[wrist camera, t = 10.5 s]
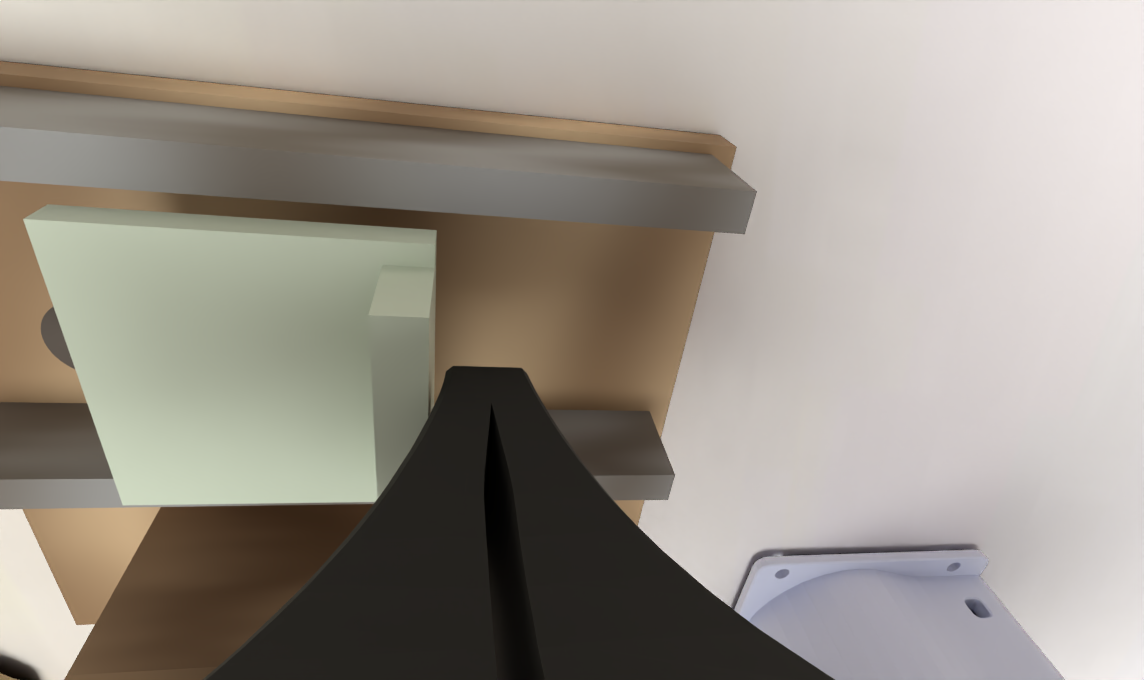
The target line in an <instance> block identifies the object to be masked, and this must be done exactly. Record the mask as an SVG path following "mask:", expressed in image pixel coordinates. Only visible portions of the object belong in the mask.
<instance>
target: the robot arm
mask: <svg viewBox="0 0 1144 680" xmlns="http://www.w3.org/2000/svg"><path fill="white" fill-rule="evenodd" d="M987 564H988V558H987V557H986V556H985V554H984V553H983V552H982V551H980V550H947V551H917V552H888V553H858V554H828V555H798V556H768V557H763V558H761V559H759V560H757V561H756V562H755V563H754V565H753V566H752V568H751V571H750V573H749V575H748V578H747V580H746V583H745V585H744V587H743V590H742V592H741V595H740V597H739V599H738V602H737V604H736V606H735V609H734V610H733V609H732V608H730V607H729V606H728V605H727V604H725V603H724V602H723V601H721V600H720V599H719V598H717V597H716V596H715V595H713V594H712V593H711V592H710V591H709V590H707V589H706V588H705V587H704V586H703V585H701V584H700V583H699V582H698V581H697V580H696V579H694V578H693V577H692V576H691V575H690V574H689V573H688V572H686V571H685V570H684V569H683V568H682V567H681V566H679V565H678V564H677V563H676V562H675V561H674V560H673V559H671V558H670V557H669V556H668V555H667V554H666V553H664V552H663V551H662V550H661V549H660V548H659V547H658V546H657V545H656V544H655V543H654V542H653V541H652V540H651V539H650V538H649V537H648V536H647V535H646V534H645V533H644V532H643V531H642V530H641V529H640V528H639V527H638V526H637V525H636V524H635V523H634V522H633V521H632V520H631V519H630V518H629V517H628V516H627V515H626V513H625V512H624V511H623V510H622V509H621V508H620V507H619V506H618V505H617V504H616V502H615V501H614V500H613V499H612V498H611V497H610V496H609V494H608V493H607V492H606V491H605V490H604V489H603V487H602V486H601V485H600V484H599V482H598V481H597V480H596V479H595V477H594V476H593V475H592V474H591V472H590V471H589V470H588V469H587V467H586V466H585V465H584V463H583V462H582V461H581V459H580V458H579V457H578V455H577V454H576V453H575V451H574V450H573V448H572V447H571V445H570V444H569V443H568V441H567V440H566V438H565V437H564V435H563V434H562V432H561V431H560V430H559V428H558V427H557V425H556V424H555V422H554V420H553V419H552V417H551V416H550V414H549V412H548V411H547V409H546V407H545V406H544V404H543V402H542V401H541V399H540V397H539V395H538V394H537V392H536V390H535V388H534V386H533V384H532V382H531V380H530V378H529V376H528V374H527V373H526V372H525V371H524V370H523V369H522V368H515V367H479V366H452V367H451V368H450V369H448V370H447V371H446V373H445V378H444V382H443V385H442V388H441V391H440V393H439V396H438V398H437V400H436V403H435V405H434V407H433V409H432V411H431V413H430V415H429V417H428V419H427V421H426V423H425V425H424V426H423V428H422V430H421V432H420V434H419V436H418V437H417V439H416V441H415V443H414V445H413V446H412V448H411V450H410V451H409V453H408V454H407V456H406V457H405V459H404V461H403V462H402V464H401V465H400V467H399V468H398V470H397V471H396V473H395V474H394V476H393V477H392V479H391V480H390V482H389V483H388V485H387V486H386V488H385V489H384V491H383V492H382V493H381V495H380V496H379V497H378V499H377V500H376V502H375V503H374V504H373V506H372V507H371V508H370V509H369V511H368V512H367V513H366V515H365V516H364V517H363V518H362V520H361V521H360V522H359V523H358V525H357V526H356V527H355V528H354V530H353V531H352V532H351V533H350V534H349V536H348V537H347V538H346V539H345V540H344V541H343V542H342V544H341V545H340V546H339V547H338V548H337V549H336V550H335V552H334V553H333V554H332V555H331V556H330V557H329V558H328V560H327V561H326V562H325V563H324V564H323V565H322V566H321V568H320V569H319V570H318V571H317V572H316V573H315V574H314V575H313V576H312V577H311V578H310V579H309V580H308V581H307V582H306V583H305V585H304V586H303V587H302V588H301V589H300V590H299V591H298V592H297V593H296V594H295V595H294V596H293V597H292V598H291V599H289V600H288V601H287V602H286V603H285V604H284V605H283V606H282V607H281V608H280V609H279V610H278V611H277V612H276V613H275V614H274V615H273V616H272V617H271V618H270V619H269V620H268V621H267V622H266V623H265V624H264V625H263V626H261V627H260V628H259V629H258V630H257V631H256V632H255V633H254V634H253V635H252V636H251V637H250V638H249V639H248V640H247V641H246V642H245V643H244V644H243V645H242V646H241V647H239V648H238V649H237V650H236V651H235V652H234V653H233V654H232V655H231V656H229V657H228V658H227V659H226V660H225V661H224V662H223V663H222V664H220V665H219V666H218V667H217V668H216V669H214V670H213V671H212V672H211V673H210V674H208V675H207V676H206V677H205V678H204V679H203V680H1065V679H1064V678H1063V676H1062V675H1061V674H1060V673H1059V672H1058V670H1057V669H1056V668H1055V667H1054V666H1053V664H1052V663H1051V662H1050V661H1049V659H1048V658H1047V657H1046V656H1045V655H1044V653H1043V652H1042V651H1041V650H1040V648H1039V647H1038V646H1037V645H1036V644H1035V642H1034V641H1033V640H1032V639H1031V638H1030V636H1029V635H1028V634H1027V633H1026V631H1025V630H1024V629H1023V628H1022V627H1021V625H1020V624H1019V623H1018V622H1017V620H1016V619H1015V618H1014V617H1013V616H1012V614H1011V613H1010V612H1009V611H1008V610H1007V608H1006V607H1005V606H1004V605H1003V603H1002V602H1001V601H1000V600H999V599H998V597H997V596H996V595H995V594H994V592H993V591H992V590H991V589H990V588H989V586H988V585H987V584H986V583H985V582H984V580H983V579H982V578H981V577H980V575H981V573H982V572H983V570H984V569H985V568H986V566H987Z"/></svg>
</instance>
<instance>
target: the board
mask: <svg viewBox="0 0 1144 680" xmlns="http://www.w3.org/2000/svg"><path fill="white" fill-rule="evenodd" d="M735 151H736V146H734V145H733V144H732V143H730V142H729V141H727V140H726V139H725V138H723V137H722V136H721V135H713V134H703V133H693V132H684V131H674V130H664V129H654V128H645V127H635V126H625V125H616V124H606V123H596V122H586V121H577V120H567V119H557V118H548V117H538V116H528V115H519V114H509V113H499V112H489V111H480V110H470V109H460V108H451V107H441V106H431V105H422V104H412V103H402V102H392V101H383V100H373V99H363V98H354V97H344V96H334V95H324V94H315V93H305V92H295V91H286V90H276V89H266V88H257V87H247V86H237V85H227V84H218V83H208V82H198V81H189V80H179V79H169V78H159V77H150V76H140V75H130V74H121V73H111V72H101V71H92V70H82V69H72V68H62V67H53V66H43V65H33V64H24V63H14V62H4V61H0V509H23V511H24V514H25V516H26V518H27V520H28V522H29V524H30V526H31V529H32V531H33V533H34V535H35V537H36V539H37V541H38V544H39V546H40V548H41V550H42V552H43V554H44V556H45V558H46V561H47V563H48V565H49V567H50V569H51V571H52V573H53V576H54V578H55V580H56V582H57V584H58V586H59V588H60V590H61V593H62V595H63V597H64V599H65V601H66V603H67V605H68V608H69V610H70V612H71V614H72V616H73V618H74V620H75V623H76V625H86V624H96V622H97V620H98V619H99V617H100V615H101V613H102V611H103V610H104V608H105V606H106V604H107V602H108V601H109V599H110V597H111V595H112V593H113V592H114V590H115V588H116V586H117V585H118V583H119V581H120V579H121V577H122V576H123V574H124V572H125V570H126V568H127V567H128V565H129V563H130V561H131V559H132V558H133V556H134V554H135V552H136V551H137V549H138V547H139V545H140V543H141V542H142V540H143V538H144V536H145V534H146V533H147V531H148V529H149V527H150V525H151V524H152V522H153V520H154V518H155V517H156V515H157V513H158V511H159V509H160V508H161V507H194V506H264V505H333V504H374V503H375V502H333V503H260V504H188V505H122V502H121V499H120V496H119V493H118V490H117V487H116V484H115V482H114V479H113V476H112V473H111V470H110V467H109V464H108V462H107V459H106V456H105V453H104V450H103V447H102V444H101V441H100V439H99V436H98V433H97V430H96V427H95V424H94V421H93V418H92V416H91V413H90V410H89V407H88V404H87V401H86V398H85V396H84V393H83V390H82V387H81V384H80V381H79V378H78V375H77V373H76V370H75V367H74V364H73V361H72V358H71V355H70V352H69V350H68V347H67V344H66V341H65V338H64V335H63V332H62V330H61V327H60V324H59V321H58V318H57V315H56V312H55V309H54V307H53V304H52V301H51V298H50V295H49V292H48V289H47V286H46V284H45V281H44V278H43V275H42V272H41V269H40V266H39V264H38V261H37V258H36V255H35V252H34V249H33V246H32V243H31V241H30V238H29V235H28V232H27V229H26V226H25V223H24V220H23V219H24V218H26V217H27V216H29V215H31V214H32V213H34V212H36V211H37V210H39V209H41V208H43V207H44V206H46V205H48V204H50V205H65V206H80V207H95V208H110V209H126V210H141V211H156V212H171V213H186V214H201V215H216V216H231V217H246V218H261V219H276V220H291V221H306V222H321V223H337V224H352V225H367V226H382V227H397V228H412V229H427V230H437V240H436V307H435V375H434V405H435V403H436V400H437V398H438V396H439V393H440V391H441V388H442V385H443V382H444V378H445V373H446V371H447V370H448V369H450V368H451V367H452V366H479V367H515V368H522V369H523V370H524V371H525V372H526V373H527V374H528V376H529V378H530V380H531V382H532V384H533V386H534V388H535V390H536V392H537V394H538V395H539V397H540V399H541V401H542V402H543V404H544V406H545V407H546V409H547V411H548V412H549V414H550V416H551V417H552V419H553V420H554V422H555V424H556V425H557V427H558V428H559V430H560V431H561V432H562V434H563V435H564V437H565V438H566V440H567V441H568V443H569V444H570V445H571V447H572V448H573V450H574V451H575V453H576V454H577V455H578V457H579V458H580V459H581V461H582V462H583V463H584V465H585V466H586V467H587V469H588V470H589V471H590V472H591V474H592V475H593V476H594V477H595V479H596V480H597V481H598V482H599V484H600V485H601V486H602V487H603V489H604V490H605V491H606V492H607V493H608V494H609V496H610V497H611V498H612V499H613V500H614V501H615V502H616V504H617V505H618V506H619V507H620V508H621V509H622V510H623V511H624V512H625V513H626V515H627V516H628V517H629V518H630V519H631V520H632V521H633V522H634V523H635V524H636V525H637V526H638V522H639V518H640V515H641V511H642V507H643V503H644V500H668V497H669V494H670V490H671V487H672V483H673V480H674V477H675V474H674V472H673V469H672V467H671V464H670V461H669V459H668V456H667V454H666V451H665V449H664V446H663V444H662V441H661V439H660V438H661V434H662V430H663V427H664V423H665V419H666V415H667V411H668V407H669V404H670V400H671V396H672V392H673V388H674V384H675V381H676V377H677V373H678V369H679V365H680V362H681V358H682V354H683V350H684V346H685V342H686V339H687V335H688V331H689V327H690V323H691V319H692V316H693V312H694V308H695V304H696V300H697V297H698V293H699V289H700V285H701V281H702V277H703V274H704V270H705V266H706V262H707V258H708V254H709V251H710V247H711V243H712V239H713V235H714V232H722V233H736V234H745V231H746V227H747V224H748V220H749V217H750V213H751V210H752V206H753V203H754V199H755V196H756V192H757V191H755V190H754V189H753V188H752V187H751V186H749V185H748V184H747V183H746V182H744V181H743V180H742V179H741V178H740V177H738V176H737V175H736V174H735V173H734V172H732V171H731V166H732V163H733V159H734V155H735Z"/></svg>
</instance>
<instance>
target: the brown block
mask: <svg viewBox="0 0 1144 680" xmlns="http://www.w3.org/2000/svg"><path fill="white" fill-rule="evenodd" d="M372 506H373V504H333V505H264V506H194V507H161V508H160V509H159V511H158V513H157V515H156V517H155V518H154V520H153V522H152V524H151V525H150V527H149V529H148V531H147V533H146V534H145V536H144V538H143V540H142V542H141V543H140V545H139V547H138V549H137V551H136V552H135V554H134V556H133V558H132V559H131V561H130V563H129V565H128V567H127V568H126V570H125V572H124V574H123V576H122V577H121V579H120V581H119V583H118V585H117V586H116V588H115V590H114V592H113V593H112V595H111V597H110V599H109V601H108V602H107V604H106V606H105V608H104V610H103V611H102V613H101V615H100V617H99V619H98V620H97V622H96V624H95V626H94V628H93V629H92V631H91V633H90V635H89V636H88V638H87V640H86V642H85V644H84V645H83V647H82V649H81V651H80V653H79V654H78V656H77V658H76V660H75V662H74V663H73V665H72V667H71V669H70V670H69V672H68V674H67V676H66V678H65V679H64V680H203V679H204V678H205V677H206V676H207V675H208V674H210V673H211V672H212V671H213V670H214V669H216V668H217V667H218V666H219V665H220V664H222V663H223V662H224V661H225V660H226V659H227V658H228V657H229V656H231V655H232V654H233V653H234V652H235V651H236V650H237V649H238V648H239V647H241V646H242V645H243V644H244V643H245V642H246V641H247V640H248V639H249V638H250V637H251V636H252V635H253V634H254V633H255V632H256V631H257V630H258V629H259V628H260V627H261V626H263V625H264V624H265V623H266V622H267V621H268V620H269V619H270V618H271V617H272V616H273V615H274V614H275V613H276V612H277V611H278V610H279V609H280V608H281V607H282V606H283V605H284V604H285V603H286V602H287V601H288V600H289V599H291V598H292V597H293V596H294V595H295V594H296V593H297V592H298V591H299V590H300V589H301V588H302V587H303V586H304V585H305V583H306V582H307V581H308V580H309V579H310V578H311V577H312V576H313V575H314V574H315V573H316V572H317V571H318V570H319V569H320V568H321V566H322V565H323V564H324V563H325V562H326V561H327V560H328V558H329V557H330V556H331V555H332V554H333V553H334V552H335V550H336V549H337V548H338V547H339V546H340V545H341V544H342V542H343V541H344V540H345V539H346V538H347V537H348V536H349V534H350V533H351V532H352V531H353V530H354V528H355V527H356V526H357V525H358V523H359V522H360V521H361V520H362V518H363V517H364V516H365V515H366V513H367V512H368V511H369V509H370V508H371V507H372Z"/></svg>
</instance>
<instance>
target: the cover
mask: <svg viewBox="0 0 1144 680" xmlns="http://www.w3.org/2000/svg"><path fill="white" fill-rule="evenodd" d="M23 220H24V223H25V226H26V229H27V232H28V235H29V238H30V241H31V243H32V246H33V249H34V252H35V255H36V258H37V261H38V264H39V266H40V269H41V272H42V275H43V278H44V281H45V284H46V286H47V289H48V292H49V295H50V298H51V301H52V304H53V307H54V309H55V312H56V315H57V318H58V321H59V324H60V327H61V330H62V332H63V335H64V338H65V341H66V344H67V347H68V350H69V352H70V355H71V358H72V361H73V364H74V367H75V370H76V373H77V375H78V378H79V381H80V384H81V387H82V390H83V393H84V396H85V398H86V401H87V404H88V407H89V410H90V413H91V416H92V418H93V421H94V424H95V427H96V430H97V433H98V436H99V439H100V441H101V444H102V447H103V450H104V453H105V456H106V459H107V462H108V464H109V467H110V470H111V473H112V476H113V479H114V482H115V484H116V487H117V490H118V493H119V496H120V499H121V502H122V505H188V504H260V503H333V502H376V500H377V499H378V497H379V496H380V495H381V493H382V492H383V491H384V489H385V488H386V486H387V485H388V483H389V482H390V480H391V479H392V477H393V476H394V474H395V473H396V471H397V470H398V468H399V467H400V465H401V464H402V462H403V461H404V459H405V457H406V456H407V454H408V453H409V451H410V450H411V448H412V446H413V445H414V443H415V441H416V439H417V437H418V436H419V434H420V432H421V430H422V428H423V426H424V425H425V423H426V421H427V419H428V417H429V415H430V413H431V411H432V409H433V407H434V375H435V307H436V240H437V230H427V229H412V228H397V227H382V226H367V225H352V224H337V223H321V222H306V221H291V220H276V219H261V218H246V217H231V216H216V215H201V214H186V213H171V212H156V211H141V210H126V209H110V208H95V207H80V206H65V205H50V204H48V205H46V206H44V207H43V208H41V209H39V210H37V211H36V212H34V213H32V214H31V215H29V216H27V217H26V218H24V219H23Z"/></svg>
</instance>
